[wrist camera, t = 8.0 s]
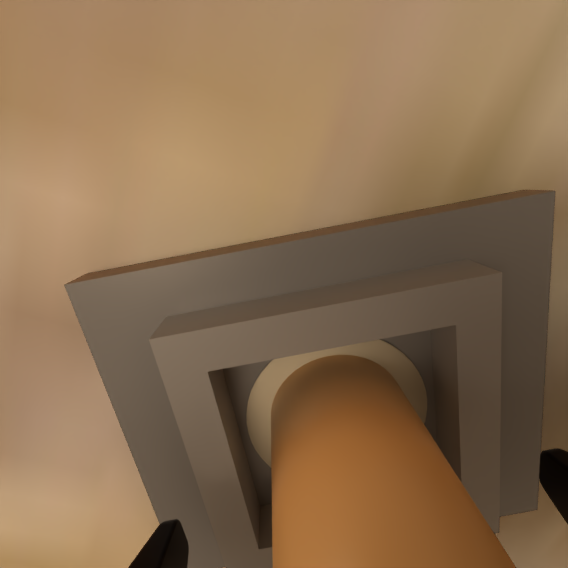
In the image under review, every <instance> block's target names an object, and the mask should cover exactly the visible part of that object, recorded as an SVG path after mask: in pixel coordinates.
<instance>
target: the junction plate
mask: <svg viewBox="0 0 568 568" xmlns="http://www.w3.org/2000/svg"><path fill="white" fill-rule="evenodd" d="M554 205H555V191H547V190H520V191H515V192H510V193H505V194H500V195H494V196H489V197H484V198H479V199H473V200H468V201H463V202H458V203H453V204H447V205H442V206H437V207H432V208H426V209H421V210H416V211H411V212H406V213H400V214H395V215H390V216H385V217H380V218H374V219H369V220H364V221H359V222H353V223H348V224H343V225H338V226H333V227H327V228H322V229H317V230H312V231H307V232H301V233H296V234H291V235H286V236H280V237H275V238H270V239H265V240H260V241H254V242H249V243H244V244H239V245H233V246H228V247H223V248H218V249H213V250H207V251H202V252H197V253H192V254H187V255H181V256H176V257H171V258H166V259H160V260H155V261H150V262H145V263H140V264H134V265H129V266H124V267H119V268H114V269H108V270H103V271H98V272H93V273H87V274H85V275H83V276H81V277H79V278H77V279H75V280H73V281H71V282H69V283H67V284H65V285H64V286H65V288H66V291H67V293H68V296H69V298H70V301H71V303H72V306H73V308H74V311H75V313H76V316H77V318H78V321H79V323H80V326H81V328H82V331H83V333H84V336H85V338H86V341H87V343H88V346H89V348H90V351H91V353H92V356H93V358H94V361H95V363H96V366H97V368H98V371H99V373H100V376H101V378H102V381H103V383H104V386H105V388H106V391H107V393H108V396H109V398H110V401H111V403H112V406H113V408H114V411H115V413H116V416H117V418H118V421H119V423H120V426H121V428H122V431H123V433H124V436H125V438H126V441H127V443H128V446H129V448H130V451H131V453H132V456H133V458H134V461H135V463H136V466H137V468H138V471H139V473H140V476H141V478H142V481H143V483H144V486H145V488H146V491H147V493H148V496H149V498H150V501H151V503H152V506H153V508H154V511H155V513H156V516H157V518H158V521H159V523H160V524H161V523H162V522H164V521H168V520H173V519H178V520H179V521H180V522H181V524H182V527H183V530H184V532H185V535H186V538H187V540H188V545H189V555H188V566H187V568H222V567H226V568H273V558H272V476H271V408H272V403H273V400H274V397H275V395H276V393H277V391H278V389H279V387H280V386H281V384H282V383H283V382H284V381H285V380H286V378H287V377H288V376H289V375H291V374H292V373H293V372H294V371H295V370H297V369H298V368H300V367H301V366H303V365H305V364H307V363H308V362H310V361H313V360H316V359H318V358H322V357H326V356H332V355H353V356H359V357H363V358H366V359H369V360H371V361H373V362H375V363H377V364H379V365H381V366H382V367H383V368H385V369H386V370H387V371H388V372H389V373H390V374H391V375H392V376H393V378H394V379H395V380H396V382H397V383H398V385H399V386H400V388H401V389H402V391H403V392H404V394H405V396H406V397H407V399H408V400H409V402H410V403H411V405H412V406H413V408H414V410H415V411H416V413H417V414H418V416H419V417H420V419H421V420H422V422H423V424H424V425H425V427H426V428H427V430H428V431H429V433H430V434H431V436H432V438H433V439H434V441H435V442H436V444H437V445H438V447H439V448H440V450H441V452H442V453H443V455H444V456H445V458H446V459H447V461H448V462H449V464H450V466H451V467H452V469H453V470H454V472H455V473H456V475H457V476H458V478H459V480H460V481H461V483H462V484H463V486H464V487H465V489H466V490H467V492H468V494H469V495H470V497H471V498H472V500H473V501H474V503H475V504H476V506H477V508H478V509H479V511H480V512H481V514H482V515H483V517H484V518H485V520H486V522H487V523H488V525H489V526H490V528H491V529H492V531H493V532H494V533H499V517H501V516H506V515H512V514H517V513H522V512H528V511H533V510H537V509H538V491H539V464H540V454H541V437H542V419H543V401H544V384H545V366H546V348H547V330H548V312H549V294H550V276H551V259H552V241H553V223H554Z"/></svg>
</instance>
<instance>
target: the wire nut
mask: <svg viewBox="0 0 568 568" xmlns="http://www.w3.org/2000/svg"><path fill="white" fill-rule="evenodd" d="M271 476H272V558H273V568H516V567H515V565H514V564H513V562H512V560H511V559H510V557H509V556H508V554H507V553H506V551H505V550H504V548H503V546H502V545H501V543H500V542H499V540H498V539H497V537H496V536H495V534H494V532H493V531H492V529H491V528H490V526H489V525H488V523H487V522H486V520H485V518H484V517H483V515H482V514H481V512H480V511H479V509H478V508H477V506H476V504H475V503H474V501H473V500H472V498H471V497H470V495H469V494H468V492H467V490H466V489H465V487H464V486H463V484H462V483H461V481H460V480H459V478H458V476H457V475H456V473H455V472H454V470H453V469H452V467H451V466H450V464H449V462H448V461H447V459H446V458H445V456H444V455H443V453H442V452H441V450H440V448H439V447H438V445H437V444H436V442H435V441H434V439H433V438H432V436H431V434H430V433H429V431H428V430H427V428H426V427H425V425H424V424H423V422H422V420H421V419H420V417H419V416H418V414H417V413H416V411H415V410H414V408H413V406H412V405H411V403H410V402H409V400H408V399H407V397H406V396H405V394H404V392H403V391H402V389H401V388H400V386H399V385H398V383H397V382H396V380H395V379H394V378H393V376H392V375H391V374H390V373H389V372H388V371H387V370H386V369H385V368H383V367H382V366H381V365H379V364H377V363H375V362H373V361H371V360H369V359H366V358H363V357H359V356H353V355H332V356H326V357H322V358H318V359H316V360H313V361H310V362H308V363H307V364H305V365H303V366H301V367H300V368H298V369H297V370H295V371H294V372H293V373H292V374H291V375H289V376H288V377H287V378H286V380H285V381H284V382H283V383H282V384H281V386H280V387H279V389H278V391H277V393H276V395H275V397H274V400H273V403H272V408H271Z"/></svg>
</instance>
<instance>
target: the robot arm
mask: <svg viewBox="0 0 568 568" xmlns="http://www.w3.org/2000/svg"><path fill="white" fill-rule="evenodd" d="M539 479H540V482H541V485H542V487H543V488H544V490H545V491H546V493H547V494H548V496H549V497H550V499H551V500H552V502H553V503H554V505H555V506H556V508H557V509H558V511H559V512H560V514H561V515H562V517H563V518H564V520H565V521H566V523H567V524H568V452H566V451H564V450H562V449H551V450H545V451H542V452H541V454H540V464H539ZM188 555H189V545H188V540H187V538H186V535H185V532H184V530H183V527H182V524H181V522H180V521H179V520H178V519H173V520H168V521H164V522H162V523H161V524H160V525H159V526H158V527H157V529H156V530H155V532H154V533H153V534H152V536H151V537H150V538H149V540H148V541H147V543H146V544H145V545H144V547H143V548H142V549H141V551H140V552H139V554H138V555H137V556H136V558H135V559H134V560H133V562H132V563H131V564H130V566H129V567H128V568H187V566H188Z"/></svg>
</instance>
